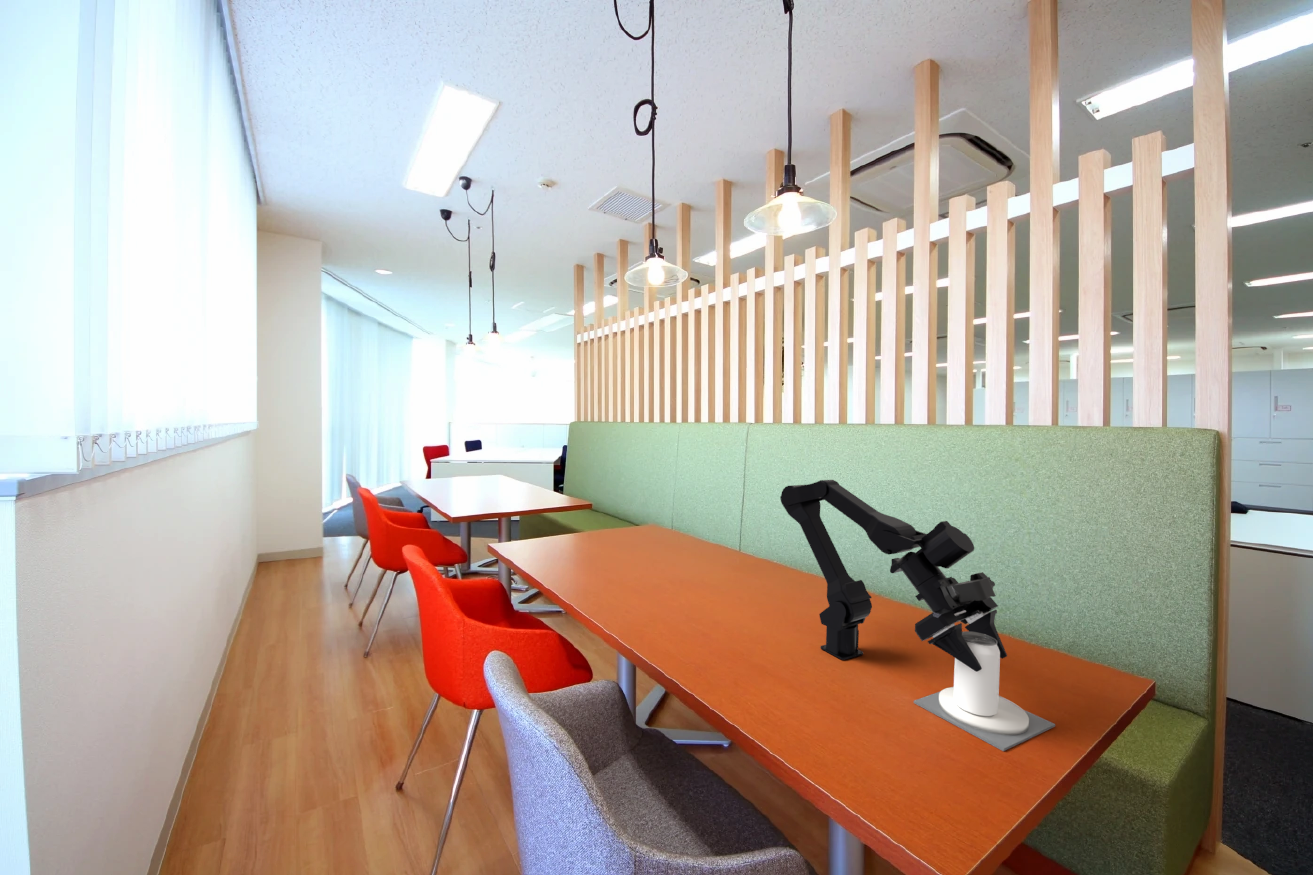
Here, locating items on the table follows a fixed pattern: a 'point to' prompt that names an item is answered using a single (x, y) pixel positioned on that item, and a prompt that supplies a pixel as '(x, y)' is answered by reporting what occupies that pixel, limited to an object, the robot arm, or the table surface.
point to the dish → (988, 720)
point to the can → (978, 677)
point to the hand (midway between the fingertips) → (992, 663)
